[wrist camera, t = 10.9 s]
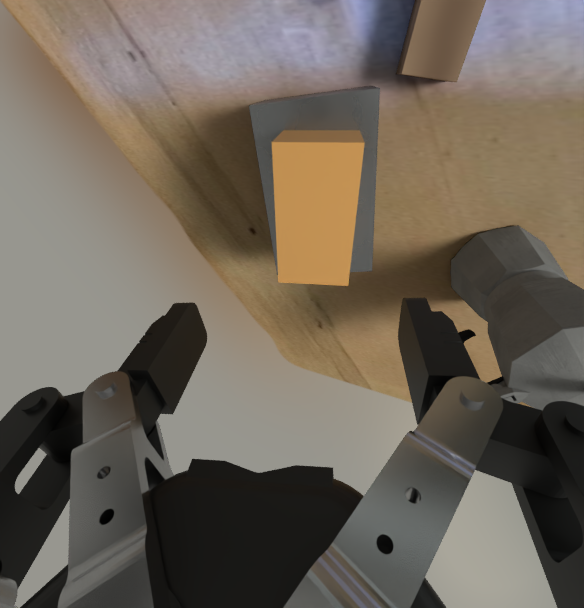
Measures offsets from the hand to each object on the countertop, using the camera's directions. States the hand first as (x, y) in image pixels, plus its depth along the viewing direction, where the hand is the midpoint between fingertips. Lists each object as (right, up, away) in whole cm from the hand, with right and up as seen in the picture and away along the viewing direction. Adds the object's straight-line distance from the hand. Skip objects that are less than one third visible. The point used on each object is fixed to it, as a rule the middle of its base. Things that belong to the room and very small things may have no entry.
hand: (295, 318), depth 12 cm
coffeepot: (+21, +4, +22) cm, 30 cm away
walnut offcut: (+10, +21, +11) cm, 26 cm away
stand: (+3, +13, +18) cm, 22 cm away
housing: (+2, +9, +13) cm, 16 cm away
